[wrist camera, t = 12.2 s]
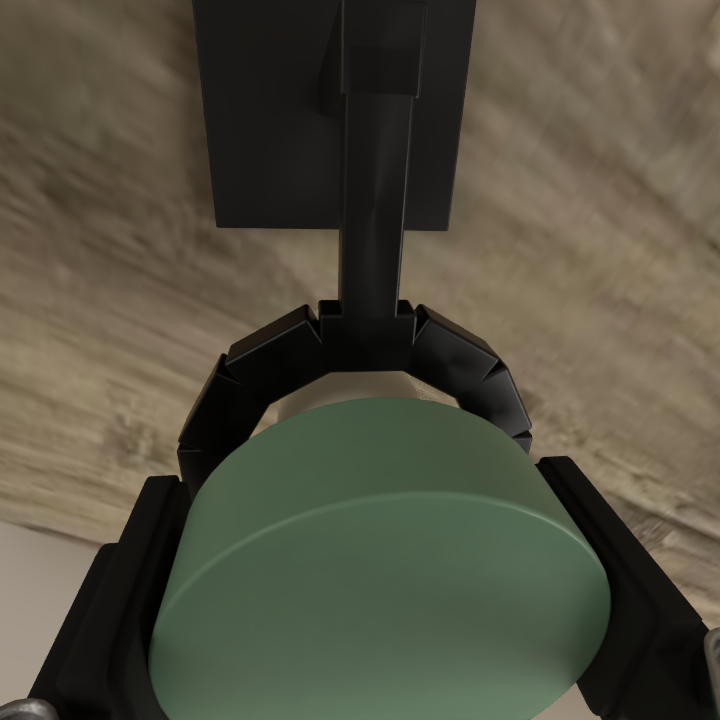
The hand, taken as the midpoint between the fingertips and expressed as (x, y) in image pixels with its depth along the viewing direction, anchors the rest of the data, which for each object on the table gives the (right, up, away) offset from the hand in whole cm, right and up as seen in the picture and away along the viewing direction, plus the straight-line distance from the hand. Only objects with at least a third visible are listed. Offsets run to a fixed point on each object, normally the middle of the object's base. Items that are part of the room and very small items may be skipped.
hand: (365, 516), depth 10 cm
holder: (-1, +10, +10) cm, 14 cm away
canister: (-1, +4, +7) cm, 8 cm away
